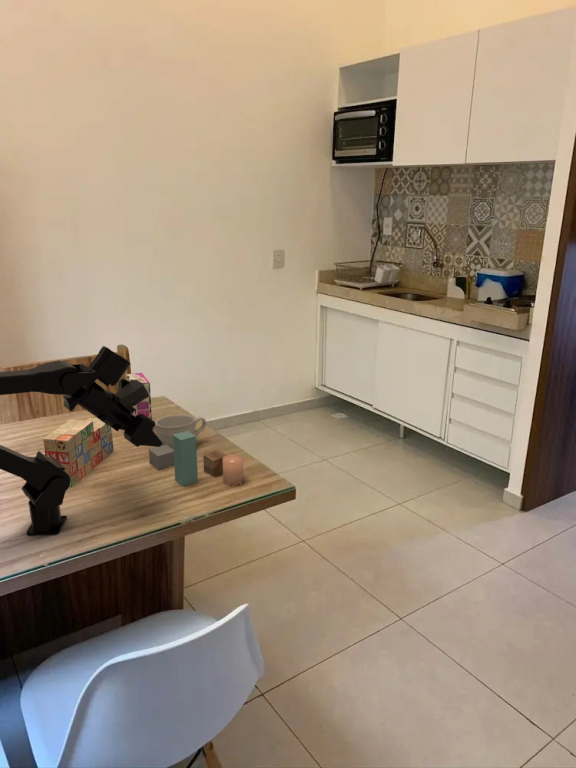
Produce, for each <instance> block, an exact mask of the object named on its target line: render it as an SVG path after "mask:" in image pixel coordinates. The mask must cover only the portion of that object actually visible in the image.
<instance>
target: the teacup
mask: <svg viewBox="0 0 576 768" xmlns="http://www.w3.org/2000/svg"><path fill="white" fill-rule="evenodd" d="M199 421H201V422H202V425H200V427H199V428H198V429H196V426H197V423H198V422H199ZM154 422H155V429H156V432H155V433H156V435H157V437H158V438H159V439H160V440H161V442H162V445H161V446H163V445H168V446H169V447H170V448H172V449H173V435H174V434H178V433H181V432H185V431H189V432H190V433H192V434H194V435H195V436H196V438H197V436H198V435H199V434H201V433H202V432H203V431H204V430H205V429H206V426H207V419H205V418H204V417H203V416H197V417H194V416H193V415H189V414H184V413H183V414H181V413H179V414H178V413H177V414H169V415H164V416H161V417H159V418H157V420H155V421H154Z"/></svg>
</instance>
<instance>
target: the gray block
mask: <svg viewBox="0 0 576 768" xmlns="http://www.w3.org/2000/svg"><path fill="white" fill-rule="evenodd" d="M148 459H149V464H151V466H153V467H154V468H155V469H157V471H161V470H164V469H166V468H171V467H174V450H173V449H172V448H170V447H169V446H168V445H163V446H160V447H153V448H152V447H151V448H149V449H148Z"/></svg>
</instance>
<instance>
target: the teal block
mask: <svg viewBox="0 0 576 768" xmlns="http://www.w3.org/2000/svg"><path fill="white" fill-rule="evenodd" d="M197 449H198V448H197V437H196V436H195V435H194V434H192V433H190V432H189V431H185V432H181V433H178V434H174V435H173V450H174V466H173V467H174V481H176V482H177V483H178V484H179V485H180V486H182V487H186V486H189V485H192V484H195V483H198V482H199V479H198V478H199V475H198V450H197Z"/></svg>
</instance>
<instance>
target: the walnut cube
mask: <svg viewBox="0 0 576 768" xmlns="http://www.w3.org/2000/svg"><path fill="white" fill-rule="evenodd" d="M226 455H227V454H226V453H224V452H223V451H221V450H219V449H218V450H215V451H211V452H207V453H205V454H203V455H202V456H203V457H202V459H203V471H204V472H205V473H207V474H208V475H210V476H211V477H213V478H215V477H218V476H221V475H223V457H224V456H226Z"/></svg>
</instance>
